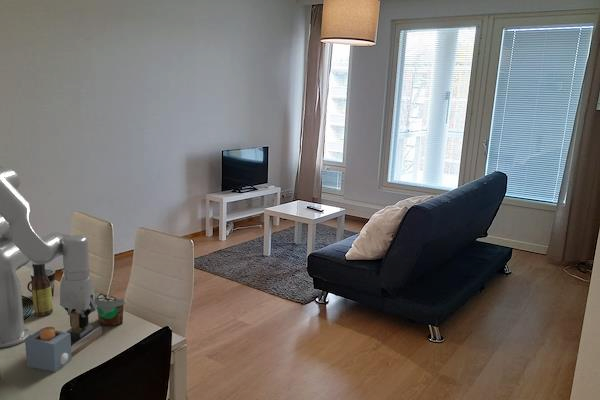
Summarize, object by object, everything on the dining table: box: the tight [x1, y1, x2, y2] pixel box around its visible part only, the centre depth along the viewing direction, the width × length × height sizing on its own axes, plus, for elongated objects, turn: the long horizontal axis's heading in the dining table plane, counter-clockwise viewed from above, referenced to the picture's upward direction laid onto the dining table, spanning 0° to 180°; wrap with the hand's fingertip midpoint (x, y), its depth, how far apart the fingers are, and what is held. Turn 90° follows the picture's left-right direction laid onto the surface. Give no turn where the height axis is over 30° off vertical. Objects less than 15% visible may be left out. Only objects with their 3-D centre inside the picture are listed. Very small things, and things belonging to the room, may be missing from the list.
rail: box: [71, 325, 103, 358], centre depth 158 cm, size 8×17×3 cm, turn 166°
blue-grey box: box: [24, 327, 73, 373], centre depth 146 cm, size 10×7×9 cm
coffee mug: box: [26, 268, 56, 298], centre depth 191 cm, size 12×9×10 cm
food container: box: [95, 290, 126, 328], centre depth 172 cm, size 12×6×10 cm, turn 62°
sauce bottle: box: [30, 262, 54, 317], centre depth 177 cm, size 7×6×20 cm
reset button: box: [39, 326, 56, 341], centre depth 146 cm, size 4×4×4 cm
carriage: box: [66, 310, 93, 341], centre depth 159 cm, size 5×6×9 cm
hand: (79, 325), depth 159 cm, fingers closed on carriage, 3 cm apart
